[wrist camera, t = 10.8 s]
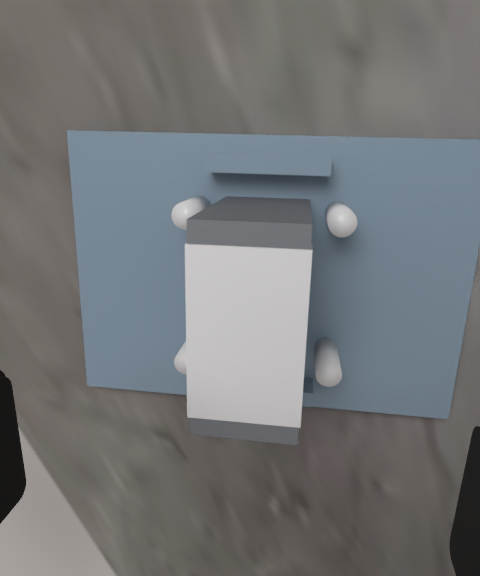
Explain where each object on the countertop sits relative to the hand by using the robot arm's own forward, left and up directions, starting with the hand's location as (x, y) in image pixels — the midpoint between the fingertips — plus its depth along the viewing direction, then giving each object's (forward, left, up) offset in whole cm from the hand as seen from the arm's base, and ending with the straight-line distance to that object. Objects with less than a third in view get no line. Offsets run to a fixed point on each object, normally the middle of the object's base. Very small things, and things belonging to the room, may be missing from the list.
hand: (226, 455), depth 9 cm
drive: (0, 0, -15) cm, 15 cm away
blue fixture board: (0, 0, -16) cm, 16 cm away
